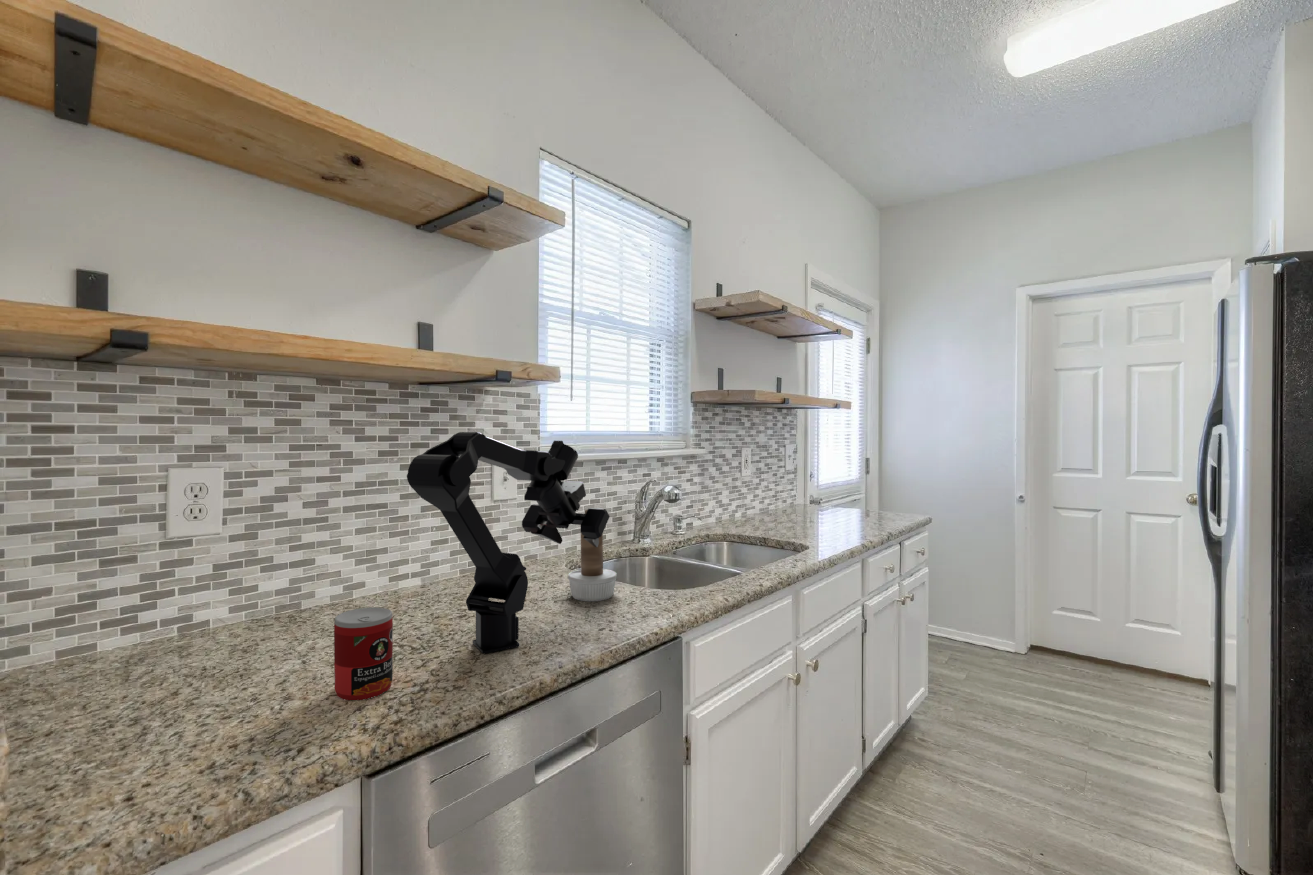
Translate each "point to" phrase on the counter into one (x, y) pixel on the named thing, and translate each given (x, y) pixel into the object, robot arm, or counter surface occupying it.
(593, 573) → the pepper mill
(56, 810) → the counter surface
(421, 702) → the counter surface
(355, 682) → the canned food
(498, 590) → the robot arm
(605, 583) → the ramekin
